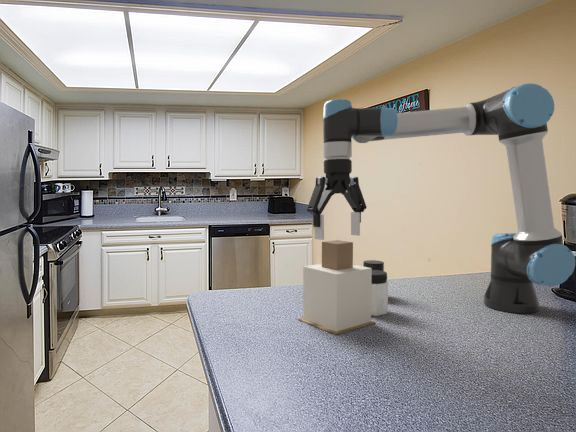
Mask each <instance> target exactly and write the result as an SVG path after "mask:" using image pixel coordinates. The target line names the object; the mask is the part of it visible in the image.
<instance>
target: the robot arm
mask: <svg viewBox="0 0 576 432" xmlns="http://www.w3.org/2000/svg"><path fill="white" fill-rule="evenodd" d="M554 101H555V100H554V98H553V96H552V94H551V93H550V92H549V90H548V89H546V88H545V87H543V86H542V85H539V84H537V83H523V84H520V85H517V86H513V87H511V88H509V89H507V90H505V91H503V92H501V93H498V94H495V95H493V96H491V97H488V98H486V99H484V100H478V101H476V102H467V103H465V104H464V105H463V106H460V107H451V108H449V107H448V108H438V109H428V110H419V111H418V110H417V111H407V112H405V111H404V112H397V111H396V109H395V108H392V107H384V106H383V107H364V108H363V107H362V108H360V107H359V108H358V107H357V108H356V107H353V105H352V101H351V100H349V99H342V98H338V99H330V100H327V101H326V102H325V103H324V105H323V114H322V115H323V117H322V124H323V125H322V126H323V128H322V129H323V131H322V132H323V134H322V135H323V159H324V161H323V174H325V176H317V177H316V178H315V186H314V188H313V191H312V194H311V197H310V199H309V202H308V204H307V207H306V212H307V213H309V214H311V215H312V217H313V218H312V221H313V223H312V225H313V227H314V239H315V240H320V241H321V240H322V241H323V240H325V215H324V214H322V213H323V211H324V210H325V208H326V206H327V205H328V204H329V202H330V200H331V198H332V196H334V195H336V194H341V195H342V196H343V197H344V198H345V200H346V202H347V203H348V204H349V205H348V206H350V207H351V209H352V211H351V212H350V235H351V236H360V235H361V222H362V213H364V212H365V210H366V209H367V204H366V201H365V198H364V195H363V193H362V190H361V187H360V182H359V177H358V176H351V177H350V174H351V173H352V171H353V170H352V169H353V166H352V165H353V164H352V162H353V161H352V159H350V158H352V157H353V156H352V154H353V151H352V150H353V149H352V146H353V145H352V144H353V143H352V140H354V141H355V142H356V143H358V144H366V143H367V144H368V143H369V142H376V141H383V140H385V141H386V140H395V139H398V140H399V139H406V138H418V137H419V138H420V137H428V136H429V137H430V136H439V135H451V134H464V135H465V136H467V137H469V136H483V135H484V136H498V137H497V138H498V142H499V143H501V144H502V145H503V146H505V149H506V154H507V162H508V169H509V174H510V182H511V190H512V197H513V204H514V211H515V217H516V218H515V219H516V225H517V232H514V233H513V232H511V233H509V232H508V233H505V232H504V233H495V234H493V235H492V239H491V244H490V246H491V250H490V251H491V252H490V254H491V255H490V256H491V257H490V259H491V260H490V280H489V283H488V286H487V288H486V291H485V293H484V296H483V304H484V305H485V306H486V307H488V308H490V309H493V310H497V311H502V312H508V313H513V314H514V313H515V314H516V313H517V314H533V313H536V312H538V311H539V309H540V302H539V299H538V296H537V292H536V289H535V286H534V285H535V284H536V285H540V286H545V287H556V286H559V285H561V284H563V283H565V282H566V281H567V280H568V279H569V278H570V276H572V274H573V273H574V270H575V267H576V257H575V255H574V252H573V251H572V250H571V249H570V248H569V247H568V246H566V245H564V241H563V234H562V232H561V231H559V230H558V229H556V228H555V224H554V217H553V210H552V209H553V208H552V201H551V196H550V187H549V180H548V173H547V166H546V165H547V164H546V159H545V158H546V157H545V150H544V143H543V139H544V138H545V137H546V135H547V134H548V132H549V131H548V129H549V128H548V122H549V121H550V120H551V118H552V116H553V115H554V113H555V102H554Z"/></svg>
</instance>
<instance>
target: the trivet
mask: <svg viewBox="0 0 576 432" xmlns="http://www.w3.org/2000/svg"><path fill="white" fill-rule="evenodd" d="M297 320H298V321H300V322H302V323H304V324H307V325H308V326H309V325H310V326H312V327H314V328H317V329H320V330H322V331H325V332H327V333H329V334H331V335H334V336H335V335H336V336H338V335H340V334H343V333H347V332H350V331H354V330H357V329H361V328H364V327H368V326H370V325H375V324H376V321H374V320H371V322H368V323H364V324H361V325H357V326H354V327H351V328H347V329H344V330H340V331H337V332H336V331H333V330H331V329H328V328H326V327H323V326H321V325H318V324H315V323H313V322H310V321H308V320H305V319H303V317H299V318H298V319H297Z"/></svg>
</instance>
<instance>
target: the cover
mask: <svg viewBox="0 0 576 432" xmlns="http://www.w3.org/2000/svg"><path fill="white" fill-rule="evenodd" d="M302 268H303V273H302V275H303V279H302V280H303V282H302V283H303V285H302V286H303V288H302V289H303V291H302V292H303V297H302V298H303V300H302V301H303V302H302V306H303V308H302V309H303V311H302V318H303V319H305V320H308V321H310V322H313V323H315V324H318V325H321V326H323V327H326V328H328V329H331V330H333V331H336V332H337V331H340V330H344V329H347V328H351V327H354V326H357V325H361V324H364V323H368V322H371V321H372V316H371V284H372V268H368V267H363V265H358V264H357V265H356V264H354V242H352V241H347V240H346V241H345V240H339V239H335V240H334V239H333V240H328V241H326V240H325V241H321V263H317V264H311V265H305V266H303V267H302Z"/></svg>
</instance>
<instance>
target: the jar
mask: <svg viewBox="0 0 576 432" xmlns="http://www.w3.org/2000/svg"><path fill="white" fill-rule="evenodd" d="M388 305H389V282H388V272H387V271H385V270H384V271H380V270H372V284H371V317H372V316H373V317H379V316H383V315H387V314H388V311H389V310H388V309H389V308H388V307H389V306H388Z"/></svg>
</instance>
